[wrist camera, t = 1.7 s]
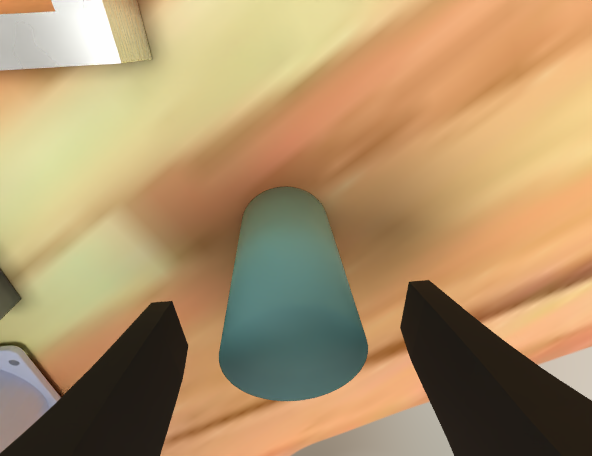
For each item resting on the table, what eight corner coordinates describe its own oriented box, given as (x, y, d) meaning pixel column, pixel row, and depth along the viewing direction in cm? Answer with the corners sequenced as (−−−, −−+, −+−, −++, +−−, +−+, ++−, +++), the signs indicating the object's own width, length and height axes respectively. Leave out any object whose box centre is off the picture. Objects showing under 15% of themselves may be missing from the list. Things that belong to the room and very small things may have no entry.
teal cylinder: (327, 257, 15) (363, 394, 9) (247, 263, 15) (232, 406, 9) (327, 183, 13) (373, 298, 7) (235, 190, 13) (204, 312, 7)
